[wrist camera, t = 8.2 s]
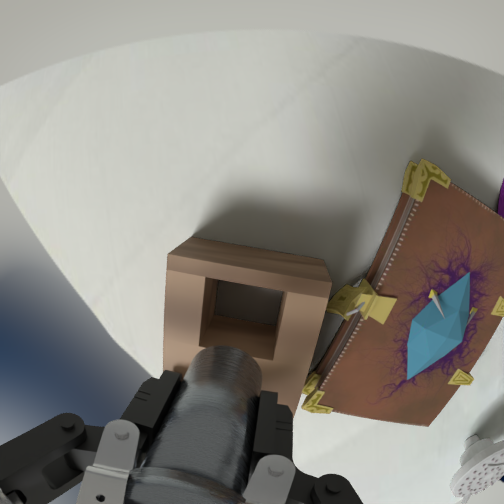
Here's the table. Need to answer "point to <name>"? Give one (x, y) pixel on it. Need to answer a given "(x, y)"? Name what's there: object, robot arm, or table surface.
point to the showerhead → (478, 467)
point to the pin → (204, 434)
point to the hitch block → (241, 331)
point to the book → (416, 307)
